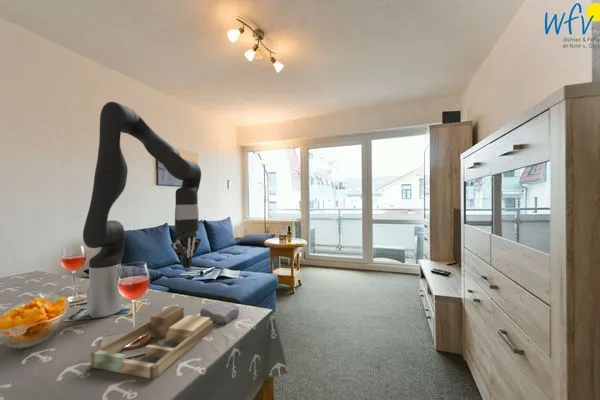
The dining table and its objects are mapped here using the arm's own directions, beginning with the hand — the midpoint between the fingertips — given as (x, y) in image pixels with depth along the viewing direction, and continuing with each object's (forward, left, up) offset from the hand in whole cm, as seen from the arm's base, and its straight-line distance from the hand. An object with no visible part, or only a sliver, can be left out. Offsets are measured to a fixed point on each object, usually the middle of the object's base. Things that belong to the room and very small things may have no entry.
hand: (187, 267), depth 87 cm
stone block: (+11, +4, -18) cm, 21 cm away
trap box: (+4, -17, -17) cm, 24 cm away
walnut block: (0, -9, -17) cm, 20 cm away
